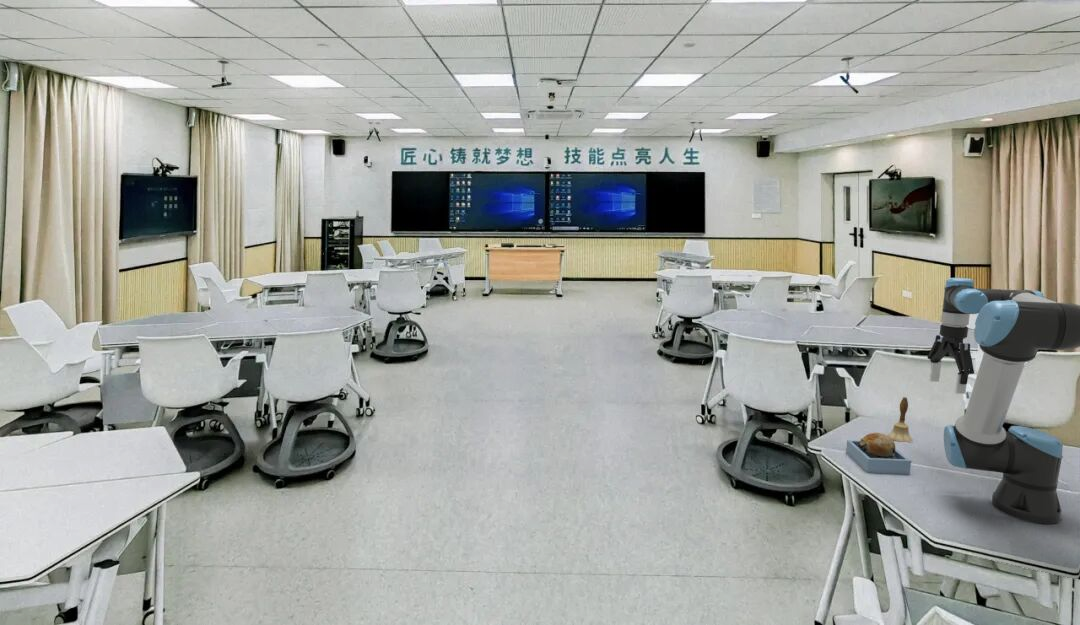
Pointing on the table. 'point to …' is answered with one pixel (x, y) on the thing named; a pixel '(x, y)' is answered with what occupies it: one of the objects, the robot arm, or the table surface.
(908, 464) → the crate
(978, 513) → the table surface
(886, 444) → the bread roll
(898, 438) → the hand bell
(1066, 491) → the table surface
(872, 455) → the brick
